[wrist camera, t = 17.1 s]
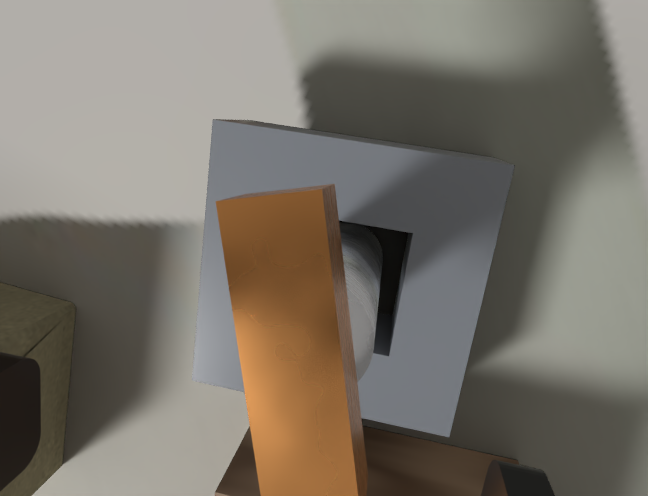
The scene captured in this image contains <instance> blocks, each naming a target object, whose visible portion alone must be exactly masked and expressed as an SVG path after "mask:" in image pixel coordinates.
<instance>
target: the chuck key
mask: <svg viewBox="0 0 648 496" xmlns="http://www.w3.org/2000/svg"><path fill="white" fill-rule="evenodd" d="M216 208H217V214H218V221H219V227H220V234H221V240H222V247H223V253H224V260H225V266H226V273H227V279H228V286H229V292H230V299H231V305H232V312H233V318H234V325H235V332H236V338H237V345H238V351H239V358H240V364H241V371H242V377H243V384H244V390H245V397H246V403H247V410H248V416H249V423H250V429H251V436H252V442H253V449H254V455H255V462H256V468H257V475H258V481H259V488H260V495H261V496H366V495H367V482H368V471H367V462H366V453H365V444H364V436H363V427H362V418H361V410H360V401H359V392H358V383H357V382H358V381H359V380H360V379H361V378H362V376H363V375H364V374H365V372H366V370H367V369H368V367H369V364H370V362H371V359H372V355H373V351H374V341H375V331H376V321H377V311H378V302H379V292H380V282H381V272H382V262H383V252H382V248H381V245H380V242H379V240H378V239H377V237H376V236H375V235H374V233H373V232H371V231H370V230H369V229H368V228H366V227H364V226H362V225H360V224H357V223H351V222H342V223H339V217H338V209H337V200H336V191H335V184H328V185H319V186H311V187H302V188H293V189H285V190H276V191H267V192H258V193H250V194H244V195H240V196H235V197H231V198H227V199H223V200H219V201H216Z"/></svg>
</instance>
